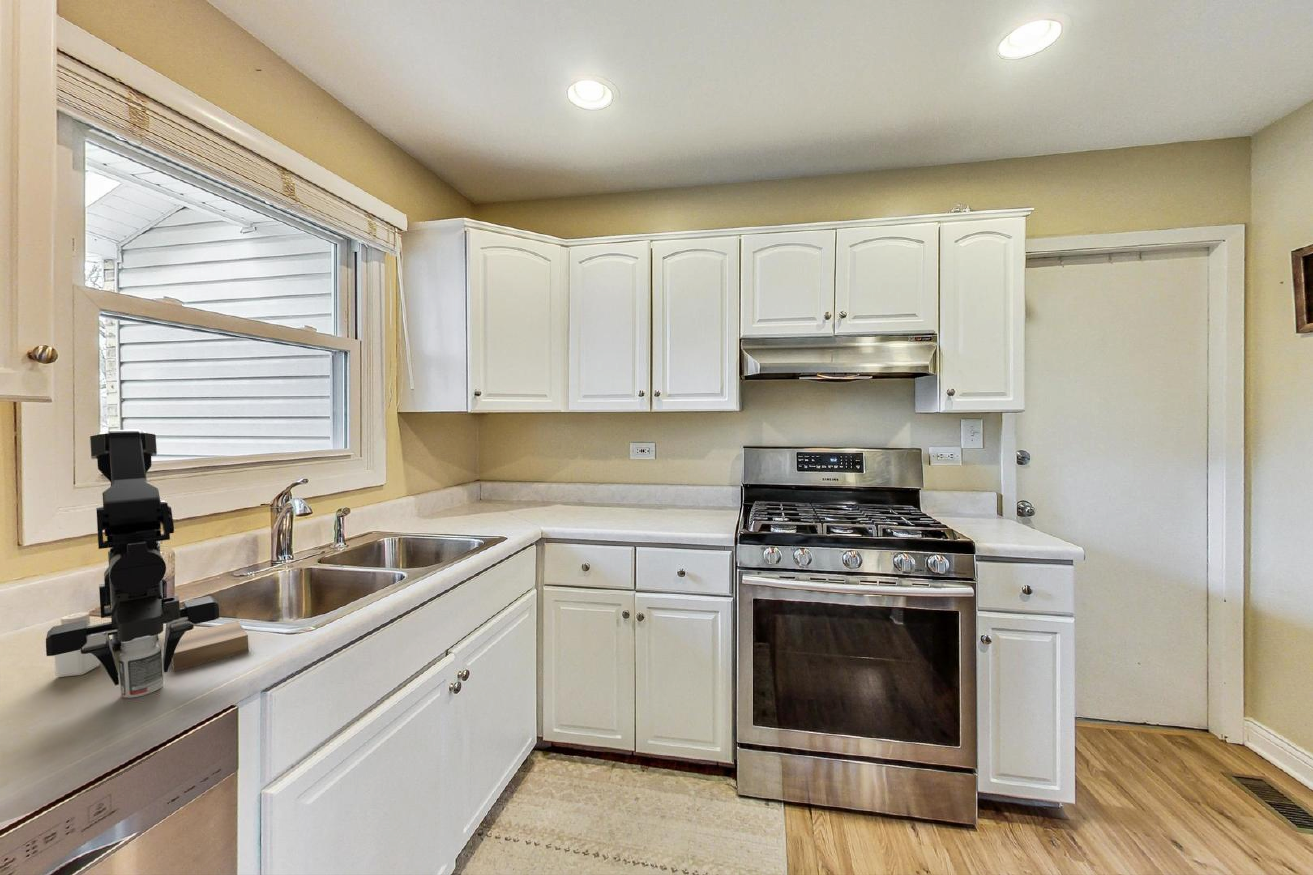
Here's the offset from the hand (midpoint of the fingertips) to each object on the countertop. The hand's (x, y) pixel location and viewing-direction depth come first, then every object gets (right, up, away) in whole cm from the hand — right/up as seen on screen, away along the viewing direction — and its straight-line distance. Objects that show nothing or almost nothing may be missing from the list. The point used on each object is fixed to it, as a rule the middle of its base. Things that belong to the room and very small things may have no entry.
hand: (141, 677), depth 83 cm
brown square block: (-1, -2, +14) cm, 14 cm away
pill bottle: (0, -2, 0) cm, 2 cm away
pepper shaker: (-17, -2, +7) cm, 19 cm away
